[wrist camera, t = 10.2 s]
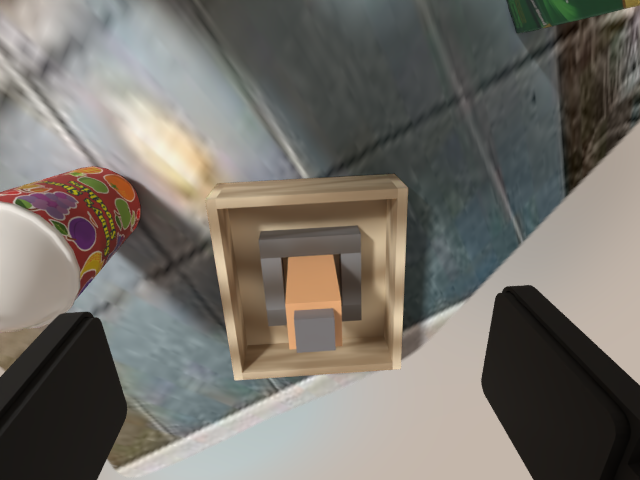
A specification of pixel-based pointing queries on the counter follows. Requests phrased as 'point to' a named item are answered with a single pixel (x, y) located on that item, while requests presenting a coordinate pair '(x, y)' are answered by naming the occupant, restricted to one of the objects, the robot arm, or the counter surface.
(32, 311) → the smoothie
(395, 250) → the walled tray
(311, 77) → the counter surface
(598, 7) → the coffee box
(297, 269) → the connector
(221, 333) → the counter surface
